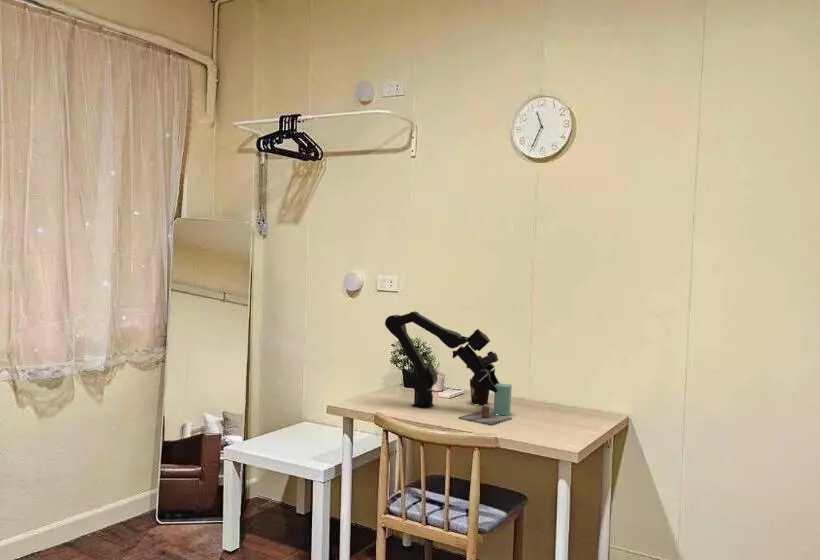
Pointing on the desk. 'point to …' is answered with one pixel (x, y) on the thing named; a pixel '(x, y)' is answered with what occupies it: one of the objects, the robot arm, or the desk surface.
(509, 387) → the teal rectangular pillar
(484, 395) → the coffee mug
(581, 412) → the desk surface
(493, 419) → the flat grey base tile
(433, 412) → the desk surface
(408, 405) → the desk surface
